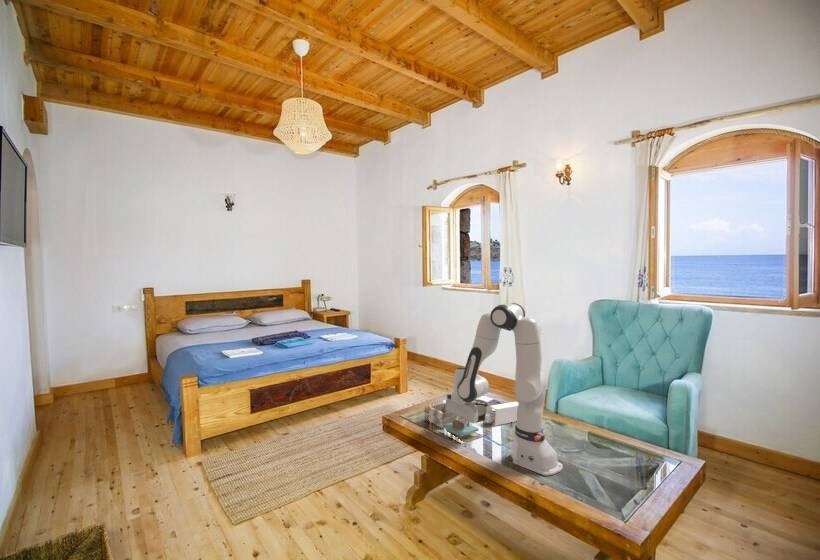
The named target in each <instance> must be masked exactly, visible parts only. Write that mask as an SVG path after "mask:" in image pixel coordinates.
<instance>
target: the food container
mask: <svg viewBox="0 0 820 560" xmlns="http://www.w3.org/2000/svg"><path fill="white" fill-rule="evenodd" d="M472 403H475V405H476V406H477V410H478V421H482V422H485V420H486V415H487V409H488V407H489V406H488V402H487V401H485V400H484V399H483V400H482V399H479V398H477V399H475V400H473V401H472Z"/></svg>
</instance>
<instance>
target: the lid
mask: <svg viewBox="0 0 820 560" xmlns="http://www.w3.org/2000/svg"><path fill="white" fill-rule="evenodd" d="M464 422H465V421H464V419H463V418H460V419H459V420H455V421H452V423H449V424H445V425H443V428H445V429H444V430H446V429H447V430H448V431H450V432H452V433H454V434H456V435H458V436H460V437H462V436H465V435H468V434H471V433H476V432H478V431H479V428H478V427H476V426H474V425H473V424H470V422H468V423H467V427H463V426H462V425H463V423H464Z"/></svg>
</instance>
